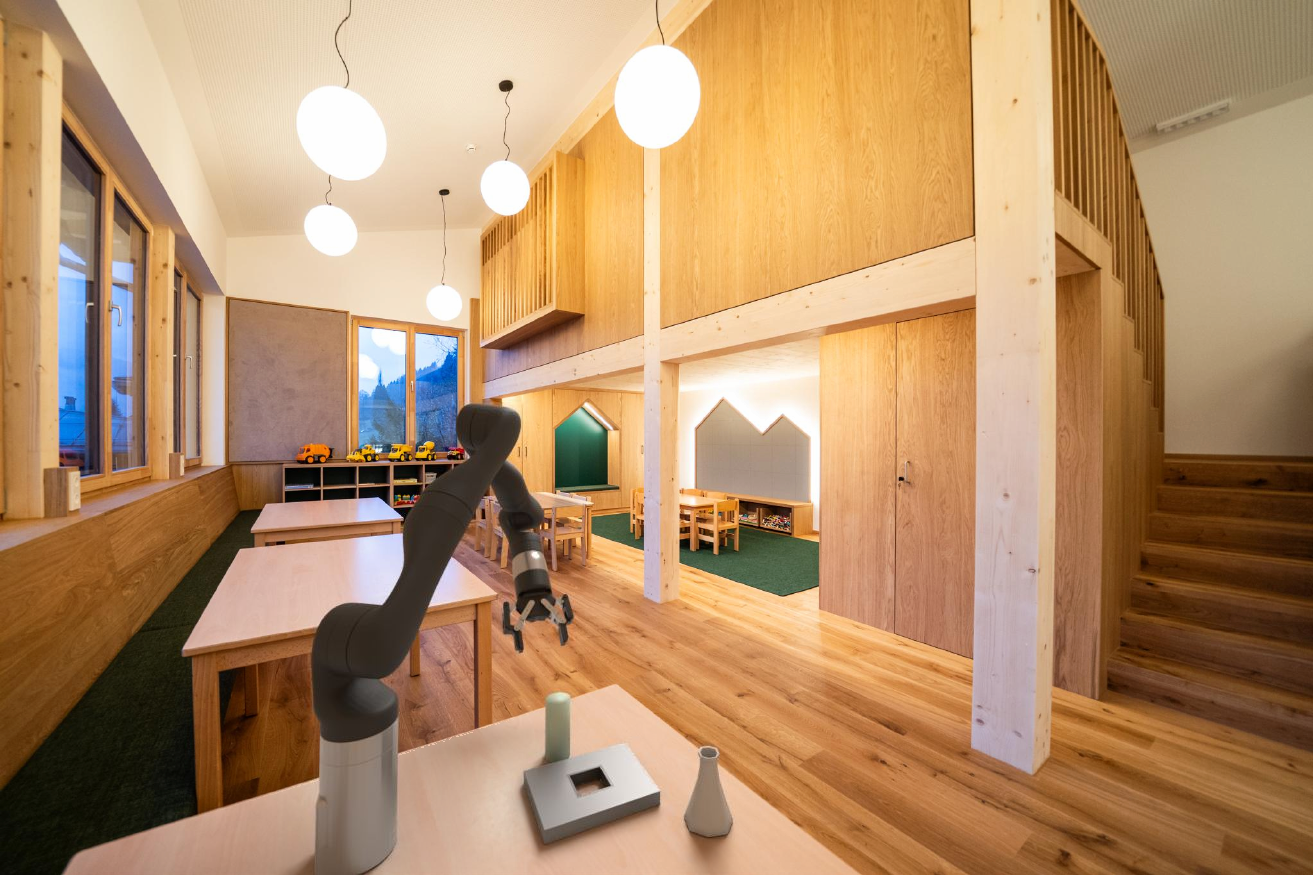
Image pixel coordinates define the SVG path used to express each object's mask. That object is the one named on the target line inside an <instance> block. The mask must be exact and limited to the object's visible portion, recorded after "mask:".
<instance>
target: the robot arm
mask: <svg viewBox="0 0 1313 875" xmlns="http://www.w3.org/2000/svg"><path fill="white" fill-rule="evenodd" d="M454 428H455V433H456V438H457V441H458V442H459V444H460V446H461V447H462V449H463V450H464V452H466V454H467V455H468V456H469V458H467V459H466V460H464V461H463V462H462V463H459V464H458V465H456V466H454V467H453V468H452V469H450V470H447V471H446V472H444V473H443V474H441V475H440V476H438V477H437V478H435V479H434V480H433V481H432V482H430V483H429V484H428V485H426V487H425V488H424V489H423V490H422V492H421V494H420V495H419V496H418V498H417V499H416V501H415V502H414V504H413V506H412V507H411V509H410V510H409V512H408V513H407V516H406V517H405V519H404V522H403V523H404V524H403V526H402V527H403V528H402V548H403V563H402V570H401V572H400V575H399V576H398V578H397V580H396V583H395V585H394V587H393V588H392V590H391V592H390V593H389V595H388V597H386V599H385V601H384V602H383V603H382V604H375V603H365V602H345V603H341V604H339V605H336V606H335V607H333V608H331V609H330V610H329V611H328V612H327V613H326V614H324V616H323V618H322V619H321V620H320V622H319V624H318V626H317V628H316V630H315V634H314V636H313V640H312V645H311V646H312V647H311V658H310V659H311V662H310V663H311V666H310V667H311V684H312V685H311V686H312V707H313V713H314V714H315V718H317V721H318V723H319V772H318V773H319V776H318V778H319V781H318V795H317V799H316V803H315V818H314V819H315V821H314V822H315V824H314V825H315V828H314V829H315V830H314V832H315V833H314V875H362V874H363V873H366V872H368V871H370V870H371V869H373V868H374V867H376V866H378V865H379V864H380V863H382V862H383V861H384V860H385V859H387V857H388V856H389V855H390V854H391V853H392V851H393V850H394V848H395V847H396V846H395V845H396V844H397V837H398V835H397V833H398V781H399V780H398V776H399V774H398V771H399V768H398V767H399V766H398V764H399V711H400V710H399V709H400V708H399V704H400V701H399V697H398V695H397V693H396V691H395V690H393V689H392V688H390V687H389V686H388V685H386V684H385V683H384V682H383V681H382V680H383V679H385V678H387V677H389V676H391V675H392V674H394V673H395V671H396V670H397V669H398V668H400V667H401V665H402V663H403V662H404V660H405V659H406V657H407V655H408V654H409V653H410V651H411V648H412V647H413V645H414V643H415V640H416V638H417V635H418V633H419V631H420V628H421V625H422V624H423V622H424V618H425V616H426V614H427V611H428V609H429V606H430V604H431V601H432V598H433V597H434V594H435V592H436V590H437V587H438V585H439V583H440V581H441V579H442V577H443V575H444V573H445V571H446V569H447V566H448V565H449V563H450V561H451V558H453V555H454V553H455V551H456V549H457V547H458V546H459V544H460V542H461V541H462V540H463V539H462V538H463V537H464V536H465V534H466V531H467V530H468V528H469V526H470V525H471V522H472V520H473V518H474V516H475V514H476V512H477V510H478V508H479V506H480V503H481V502H482V500H483V498H484V496H485V494H486V492H487V491H488V489H489V487H491V489H492V492H493V494H494V496H495V499H496V500H497V503H498V505H499V507H500V508H501V509H500V510H499V511H498V512H499V513H498V514H497V515H498V516H497V521H498V524H499V526H500V529H501V531H502V532H503V534H504V535H505V537H506V540H507V542H508V544H509V549H510V556H511V561H512V569H511V570H512V580H513V585H514V590H515V591H514V592H515V599H516V602H515V603H514V602H513V603H510V602H509V601H504V602H503V603H502V608H501V620H502V633H503V635H505V636H507V635H512V638H513V644H514V645H513V646H514V650H515V652H518V654H523V653H524V650H525V649H524V648H525V646H524V639H523V638H524V637H523V633H522V629H523V627H524V626H525V625H526V622H529V623H531V624H532V623H535V622H545V621H546V620H547V621H549V622H550V623H552V624H554V625H555V626H556V627H557V628H558V629H557V632H558V633H557V634H558V637H559V643H560V646H561V647H564V646H566V644H567V642H568V640H569V633H568V627H567V626H569V625H570V626H571V625H572V623H573V622H572V621H574V618H575V615H574V611H573V608H572V604H571V601H570V598H569V595H568V594H566V593H565V594H562V596H558V597H555V596H554V594H553V591H552V590H553V589H552V585H551V579H550V575H549V570H548V565H547V561H546V559H545V555H544V550H543V545H542V539H541V538H540V535H539V534H538V533H536V532H533V531H530V530H534V529H537V528H539V527H540V526H541V525H542V524H543V522H544V519H545V514H544V513H545V512H544V510H543V507H542V505H541V504H540V502H539V501H538V500H537V499H536V498H535V497H534V496H533V495H532V494H531V493H530V492H529V490H528V488H527V487H528V486H527V484H526V481H525V479H524V476H523V475H522V473H521V471H519V470H518V468H517V467H516V466H515V465H514V464H512V463H511V461H509V459H508V457H509V456H510V454H511V453H512V452H513V450H514V448H515V446H516V444H517V443H518V440H519V437H520V434H521V429H522V419H521V415H520V414H519V412H518V411H517V410H516V409H514V408H511V407H507V406H504V405H503V406H502V405H495V404H486V403H468V404H466V405H464V406H463V407H462V408H460V410H459V411H458V414H457V416H456V420H455V427H454ZM556 605H558V607H559V608H560V609H561V610H562V614H563V615H562V614H561V613H560V611H559V609H557V608H556V607H555V606H556ZM514 611H516V612H517V613H518V614H519V615H520V616H519V617H518V619H517V622H516V623H515V625H512V624H511V615H513V612H514Z"/></svg>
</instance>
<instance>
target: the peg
mask: <svg viewBox="0 0 1313 875" xmlns="http://www.w3.org/2000/svg"><path fill="white" fill-rule="evenodd" d="M544 708H545V712H544V713H545V715H544V716H545V718H544V720H545V721H544V722H545V723H544V725H545V726H544V727H545V729H544V733H545V734H544V736H545V737H544V758H545V761H548V762H550V763H554V762H557V761H561V760H564V759H568V758H570V755H571V695H570V694H568V693H566V692H555V693H554V692H553V693H550V694H549V695H547V696H546V697H545V706H544Z"/></svg>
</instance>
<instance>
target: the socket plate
mask: <svg viewBox="0 0 1313 875" xmlns="http://www.w3.org/2000/svg"><path fill="white" fill-rule="evenodd" d="M597 780H600V782H601V783H602V786H604V787H603V788H600V789H597V790H595V791H594V790H593V791H590V792H588V793H584V794H582V795H580V794H579V792H578V790H577V788H576V787H577V786H580V785H585V784H587V783H590V782H594V781H597ZM523 785H524V788H525V791H526V794H527V798H528V800H529V803H530V806H531V809H532V813H533V815H534V818H535V821H536V824H537V827H538V830H539V832H540V836H541V839H542V842H543V845H545V846H546V845H548V844H550V843H554V842H556V841H560V840H562V839H565V838H568V837H570V836H573V835H576V834H579V833H581V832H585V831H587V830H590V829H594V828H596V827H598V826H602V825H604V824H607V823H610V822H613V821H616V820H618V819H623V818H624V817H627V816H630V815H633V814H636V813H638V812H641V811H644V810H646V809H649V808H650V809H651V808H653V807H656V806H657V805H658V806H659V805H661V790H660V788H659V786H657V784H656V783H655V782H654V780H653V778H652V777H651V776H650V775H649V773H648V772H647V771H646V769H645V768H644V767H643V764H642V763H641V762H640V761H639V759H638V758H637V757H636V755H635V754H634V753H633V751H632V749H631V748H630V747H629V745H628V744H627V743H626V742H621V743H618V744H614V745H612V746H607V747H604V748H601V749H597V750H593V751H590V752H585V753H583V754H579V755H576V756H572V757H568V758H567V759H564V760H561V761H557V762H554V763H553V762H550V763H548V764H547V763H546V764H544V765H540V766H535V767H533V768H530V769H526V770H523Z"/></svg>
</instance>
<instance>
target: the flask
mask: <svg viewBox="0 0 1313 875" xmlns="http://www.w3.org/2000/svg"><path fill="white" fill-rule="evenodd" d="M697 756H698V757H699V767H698V768H699V769H698V774H697V779H696V781H695V783H694V787H693V790H692V793H691V796H690V799H689V801H688V805H687V807H686V809H685V812H684V815H683V817H684V819H685V823H686V825H687V827H688V830H689V831H690V832H692V833H695V834H698V835H701V836H704V837H707V838H711V837H718V836H724V835H728V834H729V831H730V829H731V827H732V824H733V821H734V819H733V817H732V816H733V815H732V813H731V810H730V807H729V805H728V801H727V797H726V795H725V793H724V792H725V791H724V788H723V786H722V783H721V779H720V774H719V773H720V772H719V767H718V765H719V764H718V761H719V758H720V752H719V750H718V748H717V747H715V746H710V745H705V746H700V747H699V749H698V751H697Z"/></svg>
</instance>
